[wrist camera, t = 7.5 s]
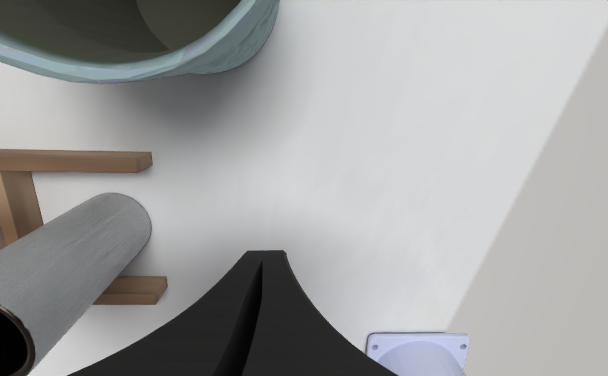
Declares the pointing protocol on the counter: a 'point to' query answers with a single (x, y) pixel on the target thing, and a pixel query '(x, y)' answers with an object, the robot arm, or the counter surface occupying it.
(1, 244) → the squat pot
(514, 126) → the counter surface
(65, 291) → the brushed metal tube
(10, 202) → the walnut caddy
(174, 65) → the teal tapered cup
